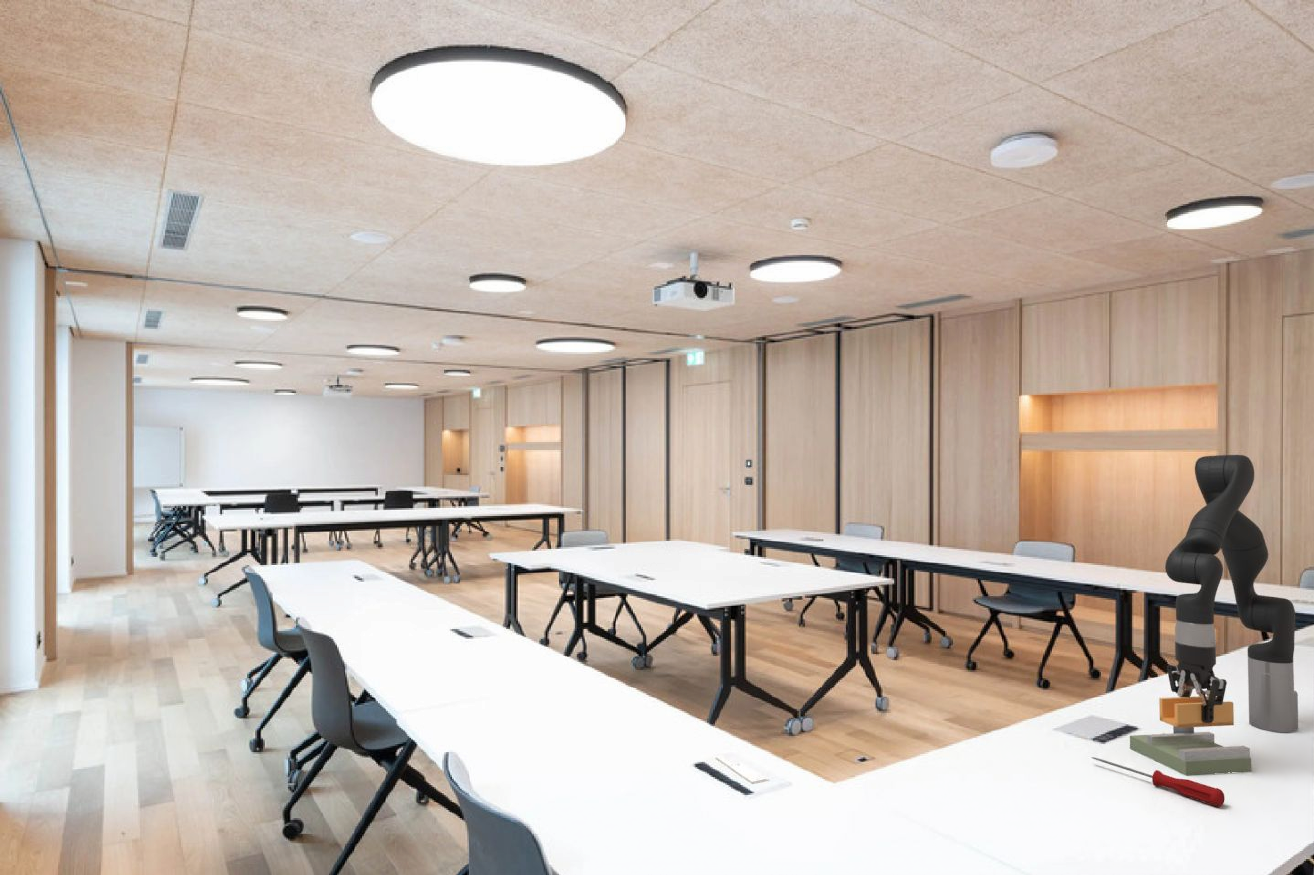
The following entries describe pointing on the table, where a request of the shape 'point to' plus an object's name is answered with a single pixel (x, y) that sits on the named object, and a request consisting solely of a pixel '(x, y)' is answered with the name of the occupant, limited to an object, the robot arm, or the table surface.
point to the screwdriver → (1182, 786)
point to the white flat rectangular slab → (743, 771)
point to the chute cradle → (1198, 753)
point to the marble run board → (1170, 758)
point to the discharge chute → (1193, 712)
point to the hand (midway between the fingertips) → (1196, 717)
